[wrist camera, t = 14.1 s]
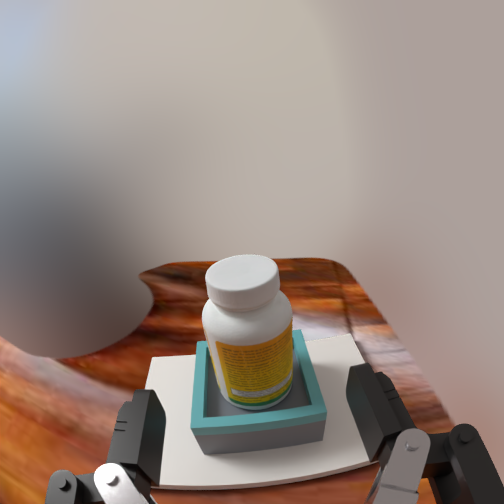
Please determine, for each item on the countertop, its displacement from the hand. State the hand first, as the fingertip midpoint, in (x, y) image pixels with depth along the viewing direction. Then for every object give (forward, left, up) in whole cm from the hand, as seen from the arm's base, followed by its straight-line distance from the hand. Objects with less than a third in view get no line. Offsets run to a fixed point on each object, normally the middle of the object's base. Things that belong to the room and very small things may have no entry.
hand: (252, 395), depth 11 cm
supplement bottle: (0, +7, -8) cm, 10 cm away
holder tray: (0, +7, -11) cm, 13 cm away
